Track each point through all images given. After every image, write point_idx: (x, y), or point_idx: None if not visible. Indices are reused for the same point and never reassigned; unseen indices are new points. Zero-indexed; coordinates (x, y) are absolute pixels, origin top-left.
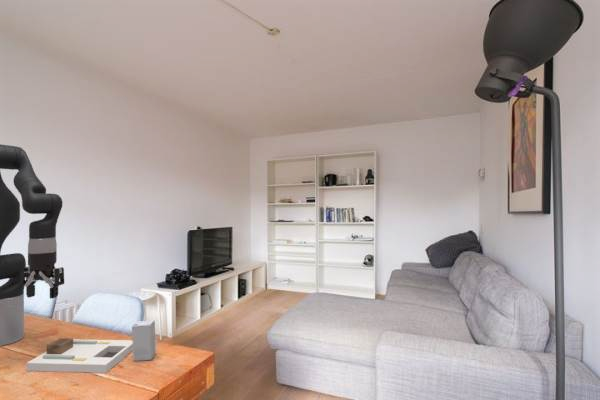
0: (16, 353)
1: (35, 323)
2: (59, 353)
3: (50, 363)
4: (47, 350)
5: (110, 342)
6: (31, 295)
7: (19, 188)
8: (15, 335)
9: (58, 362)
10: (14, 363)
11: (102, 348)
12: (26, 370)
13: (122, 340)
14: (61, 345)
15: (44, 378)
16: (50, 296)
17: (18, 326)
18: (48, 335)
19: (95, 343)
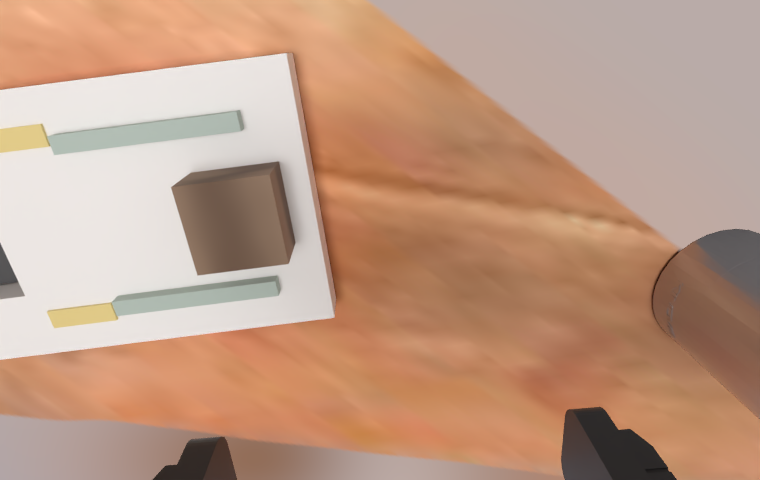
0: (536, 193)
1: (737, 445)
2: (198, 173)
3: (133, 73)
4: (270, 167)
5: (55, 326)
6: (571, 448)
7: None
8: (679, 300)
9: (100, 91)
10: (440, 106)
11: (27, 267)
12: (292, 53)
13: (15, 355)
14: (173, 190)
15: (107, 4)
16: (199, 457)
17: (706, 339)
18: (550, 364)
19: (116, 300)
